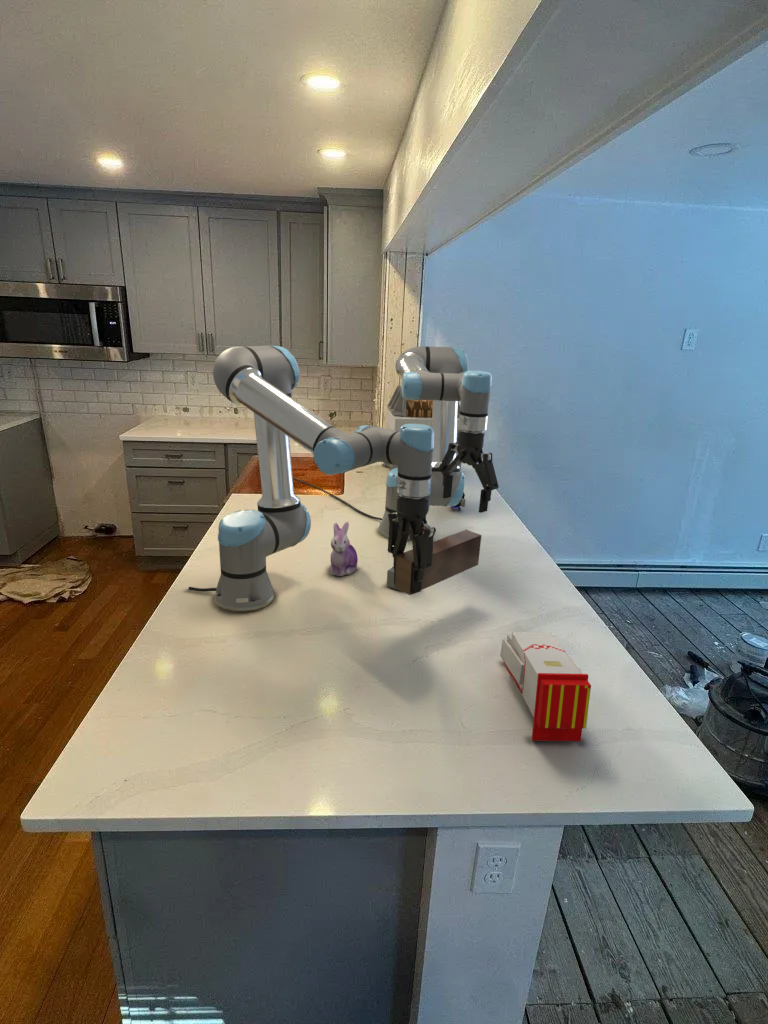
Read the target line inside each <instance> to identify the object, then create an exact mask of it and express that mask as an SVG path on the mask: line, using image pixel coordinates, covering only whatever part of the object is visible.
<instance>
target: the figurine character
mask: <svg viewBox="0 0 768 1024" xmlns="http://www.w3.org/2000/svg"><path fill="white" fill-rule="evenodd" d="M464 491H465V490H464ZM464 491H463V495H462V498H461V501H460V502H459V504H457V505H455V506H449V508H450V509H451V511H454V509H458V511H461V510H462V509H461V508H465V505H466V497H465V496H466V494H465V492H464Z"/></svg>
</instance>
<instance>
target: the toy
mask: <svg viewBox="0 0 768 1024" xmlns="http://www.w3.org/2000/svg"><path fill="white" fill-rule="evenodd" d="M506 636H507V637H506V638H505V637H502V640H501V647H500V655H499V657H500V658H501V660H502V663H503V664H504V665H503V666H505V668H506V670H507V671H508V673H509V676H510V677H511V678H512V681H514V683H515V685H516V687H517V688H518V690H519V692H520V693H521V695H522V697H523V699H524V702H525V703H526V705H527V708H529V711H530V713H531V715H532V717H533V721H532V732H531V740H532V741H534V742H582V736H583V735H582V733H583V729H585V730H586V729H587V723H588V714H589V706H590V705H589V704H590V699H591V691H592V690H591V689H592V684H591V683H590V682H589V674H588V673H583V672H581V670H580V668H578V666H577V664H575V662H574V661H573V659H572V658H571V657H570V656H569V654H568V653H567V652H566V650H565V649H564V647H563V646H562V645H561V644H560V642H559V641H558V639H557V638H556V637H555V636H554V635H553V633H551V632H525V631H523V632H522V631H521V632H519V631H512V632H511V633H507V635H506Z"/></svg>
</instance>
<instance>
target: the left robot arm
mask: <svg viewBox="0 0 768 1024" xmlns="http://www.w3.org/2000/svg"><path fill="white" fill-rule="evenodd" d="M212 378H213V382H214V384H215V386H216V388H217V390H218V391H219V392H220V394H222V396H223V397H224V398H226V399H227V400H228V401H230V402H231V403H232V404H233V405H235V406H237V407H245V408H247V409H248V410H250V411H251V412H253V420H254V429H255V439H256V440H255V441H256V448H257V459H258V467H259V477H260V487H261V498H259V499H258V501H257V502H256V503H257V504H256V506H257V510H256V509H244V510H241V509H240V510H237V511H233V512H230V513H228V514H227V515H224V516H223V518H221V519H220V521H219V523H218V533H217V541H218V549H219V550H218V551H219V566H220V576H219V578H218V582H217V586H216V587H204V588H203V587H195V586H188V590H189V591H194V592H201V593H205V592H206V593H207V592H214V602H215V604H216V606H217V607H218V608H220V609H222V610H224V611H227V612H231V613H250V612H254V611H258V610H261V609H263V608H266V607H267V606H269V605H270V604H271V603H272V602H273V601H274V598H275V591H274V587H273V584H272V581H271V579H270V576H269V574H268V572H267V557H269V556H272V555H273V554H276V553H279V552H281V551H283V550H287V549H289V548H292V547H295V546H297V545H298V544H300V543H302V542H303V541H304V540H305V539H306V538H307V537H308V535H309V534H310V532H311V527H312V519H311V514H310V512H309V511H308V510H307V507H306V506H305V505H304V504H303V503H301V498H300V497H299V496H297V494H295V488H294V479H293V478H294V477H293V476H294V475H293V466H292V455H291V453H292V452H291V441H290V439H291V440H292V441H294V442H295V443H296V444H298V445H299V446H301V447H302V448H304V449H305V450H306V451H308V452H309V453H311V454H312V455H313V461H314V464H315V465H316V466H317V468H318V470H319V471H320V472H321V473H323V474H324V475H327V476H334V475H342V474H346V473H347V472H350V471H353V470H356V469H360V468H362V467H366V466H369V465H373V464H377V463H389V464H393V465H398V479H397V492H398V494H397V495H396V510H397V511H398V512H393V513H389V514H388V518H389V536H388V538H387V552H388V554H391V555H392V558H393V565H392V567H393V568H394V584H395V575H396V555H399V554H401V553H404V552H405V550H406V547H407V543H408V541H411V547H412V549H413V555H414V563H415V567H413V568H412V578H411V594H412V595H415V594H418V593H420V592H422V590H421V584H422V581H423V579H424V569H427V568H430V567H432V556H433V542H434V541H435V540H434V538H435V536H436V532H437V528H436V527H434V526H433V527H431V526H430V525H429V524H428V520H427V515H428V513H429V511H430V506H429V503H430V497H429V494H430V491H431V471H432V461H433V451H434V430H433V429H432V427H430V426H428V425H424V424H404V425H402V426H401V428H400V431H395V430H390V429H386V427H384V428H383V427H379V426H378V425H365V424H363V425H360V426H358V427H357V429H355V430H354V431H353V432H352V433H345V432H343V431H342V430H340V429H339V428H338V427H336V426H334V425H333V424H331V423H329V422H328V421H327V420H325V419H324V418H322V417H320V416H319V415H318V414H317V413H315V412H313V411H312V410H310V409H309V408H307V407H306V406H304V405H303V404H301V402H298V401H297V400H295V399H294V398H293V396H292V390H294V389H295V388H296V387H297V384H298V383H299V380H300V368H299V365H298V362H297V360H296V358H295V356H294V355H293V354H292V353H291V352H290V351H289V350H288V349H287V348H285V347H283V346H280V345H269V344H266V345H251V346H249V345H248V346H232V347H229V348H227V349H225V350H223V351H222V352H221V353H219V355H218V356H217V357H216V359H215V361H214V363H213V368H212ZM415 535H416V536H415ZM408 536H410V540H408ZM420 562H421V563H420Z"/></svg>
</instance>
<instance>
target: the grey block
mask: <svg viewBox="0 0 768 1024" xmlns="http://www.w3.org/2000/svg"><path fill="white" fill-rule="evenodd" d="M386 587H387V588H390V589H393V590H397V591H400V590H399V589H397V588H395V584H394V568H393V566H392V567H390V568H389V569H388V570H387V572H386Z"/></svg>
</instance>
